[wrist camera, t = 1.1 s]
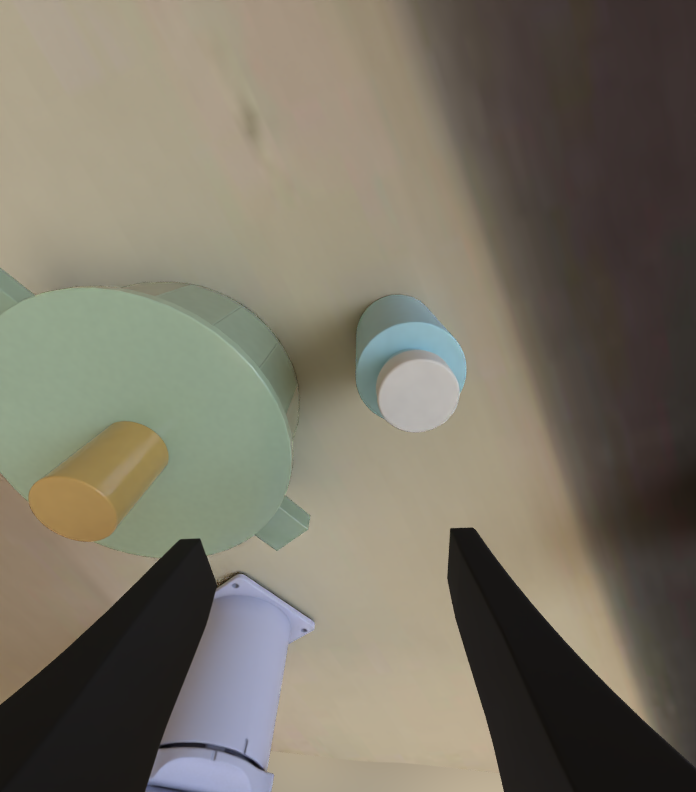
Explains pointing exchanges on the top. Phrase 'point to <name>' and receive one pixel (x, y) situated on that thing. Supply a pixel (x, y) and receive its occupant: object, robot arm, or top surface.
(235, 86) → the top surface
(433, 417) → the water bottle
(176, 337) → the lid
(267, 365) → the pot
